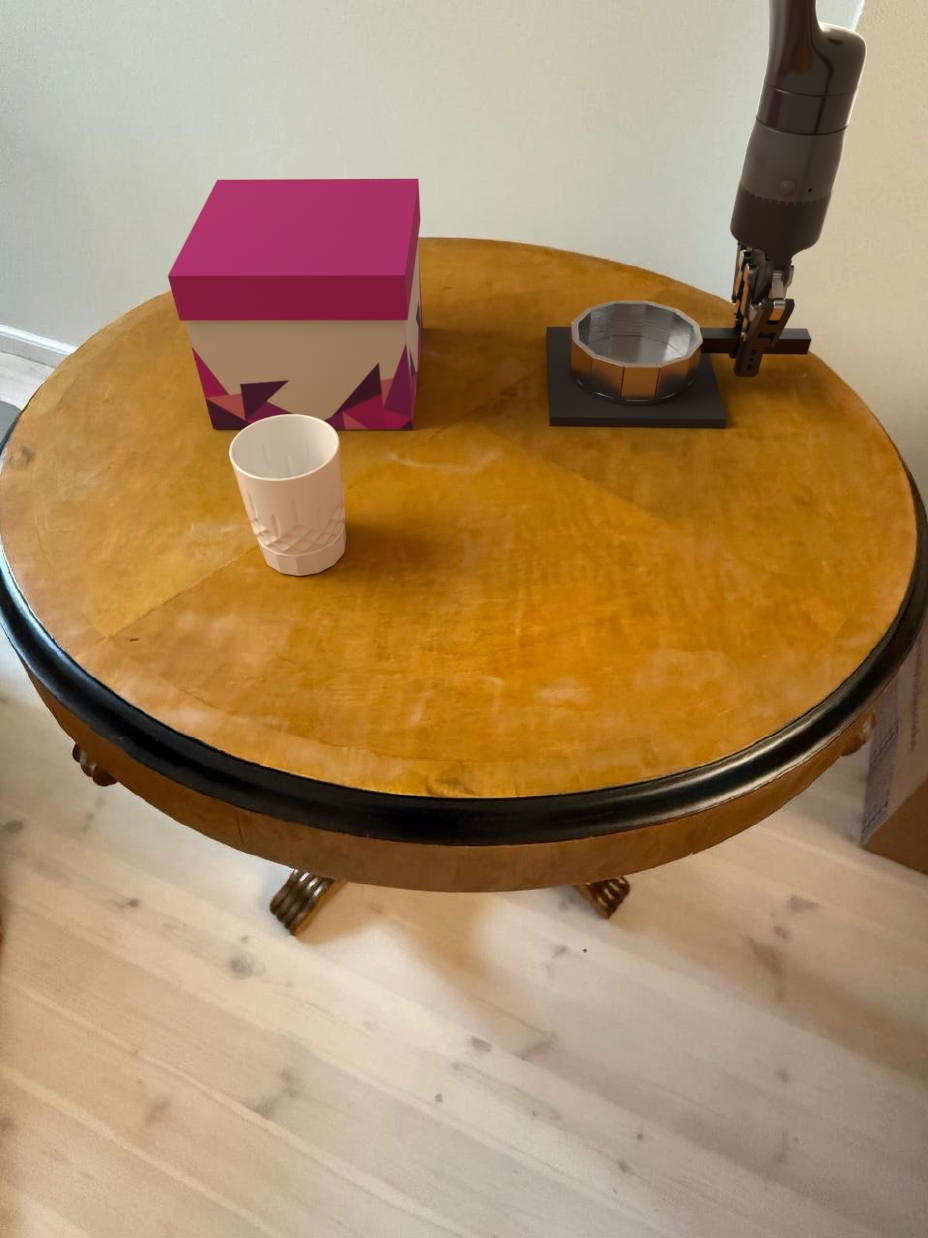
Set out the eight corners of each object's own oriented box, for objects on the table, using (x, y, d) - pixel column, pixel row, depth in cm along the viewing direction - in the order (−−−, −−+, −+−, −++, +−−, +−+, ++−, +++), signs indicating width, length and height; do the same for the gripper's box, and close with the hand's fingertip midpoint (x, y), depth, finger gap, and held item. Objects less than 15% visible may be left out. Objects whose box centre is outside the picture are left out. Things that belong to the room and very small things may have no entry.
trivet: (700, 336, 93) (702, 327, 92) (724, 428, 82) (727, 419, 81) (546, 335, 93) (546, 326, 93) (549, 425, 83) (550, 416, 82)
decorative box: (425, 325, 95) (418, 178, 84) (415, 432, 82) (404, 275, 71) (247, 325, 95) (217, 179, 84) (209, 431, 83) (167, 275, 72)
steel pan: (571, 405, 83) (574, 366, 80) (566, 337, 91) (569, 299, 88) (811, 408, 82) (824, 368, 79) (785, 339, 90) (796, 301, 87)
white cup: (320, 594, 68) (301, 492, 61) (235, 564, 71) (206, 462, 63) (371, 531, 73) (359, 429, 66) (289, 505, 75) (269, 403, 68)
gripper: (855, 215, 68) (796, 408, 81) (814, 146, 78) (767, 328, 91) (756, 215, 69) (712, 407, 82) (727, 146, 78) (692, 327, 91)
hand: (741, 364), depth 86 cm, fingers closed
